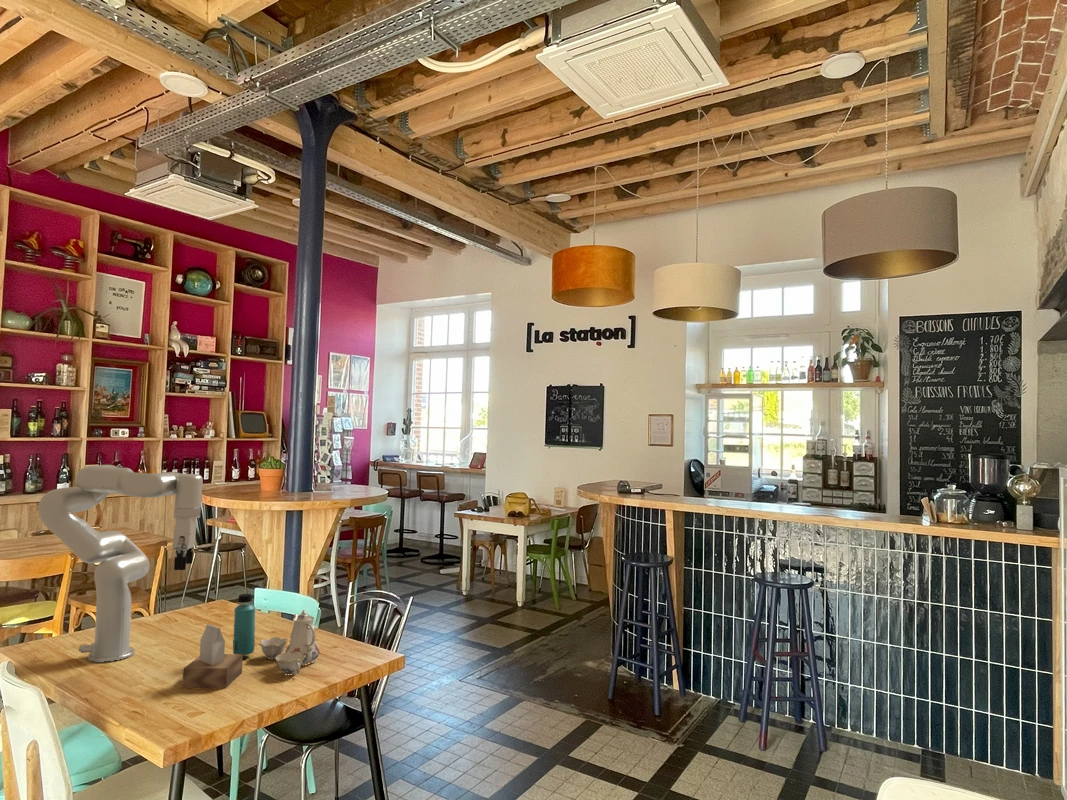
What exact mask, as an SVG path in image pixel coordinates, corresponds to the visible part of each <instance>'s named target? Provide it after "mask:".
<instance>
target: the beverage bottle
mask: <svg viewBox="0 0 1067 800" xmlns="http://www.w3.org/2000/svg"><path fill="white" fill-rule="evenodd" d="M252 601H253V595H252V593H241V594H239V595H238V599H237V602H238V603H241V604H238V605H237V606H236V607H235V608H234V620H233V621H234V622H233V639H232V654H243V656H248V655H251V654H253V653H254V652H255V646H256V643H255V642H256V639H255V638H256V635H255V634H256V633H255V632H256V625H255V624H256V606H254V605H253V604H252V603H250V602H252Z"/></svg>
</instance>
